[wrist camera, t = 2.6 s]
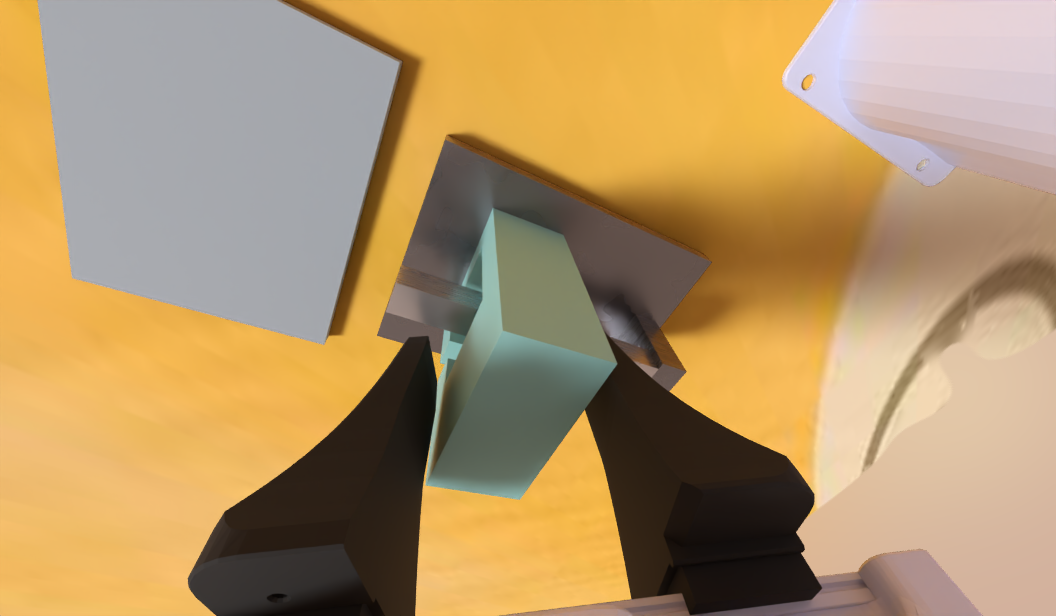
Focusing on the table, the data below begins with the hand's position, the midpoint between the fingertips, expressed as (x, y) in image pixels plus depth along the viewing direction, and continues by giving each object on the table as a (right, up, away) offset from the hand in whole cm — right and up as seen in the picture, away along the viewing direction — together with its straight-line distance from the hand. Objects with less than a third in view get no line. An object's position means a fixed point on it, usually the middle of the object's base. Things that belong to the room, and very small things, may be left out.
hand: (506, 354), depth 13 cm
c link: (0, +3, +4) cm, 4 cm away
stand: (+1, +2, +5) cm, 6 cm away
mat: (-10, +6, +1) cm, 12 cm away
